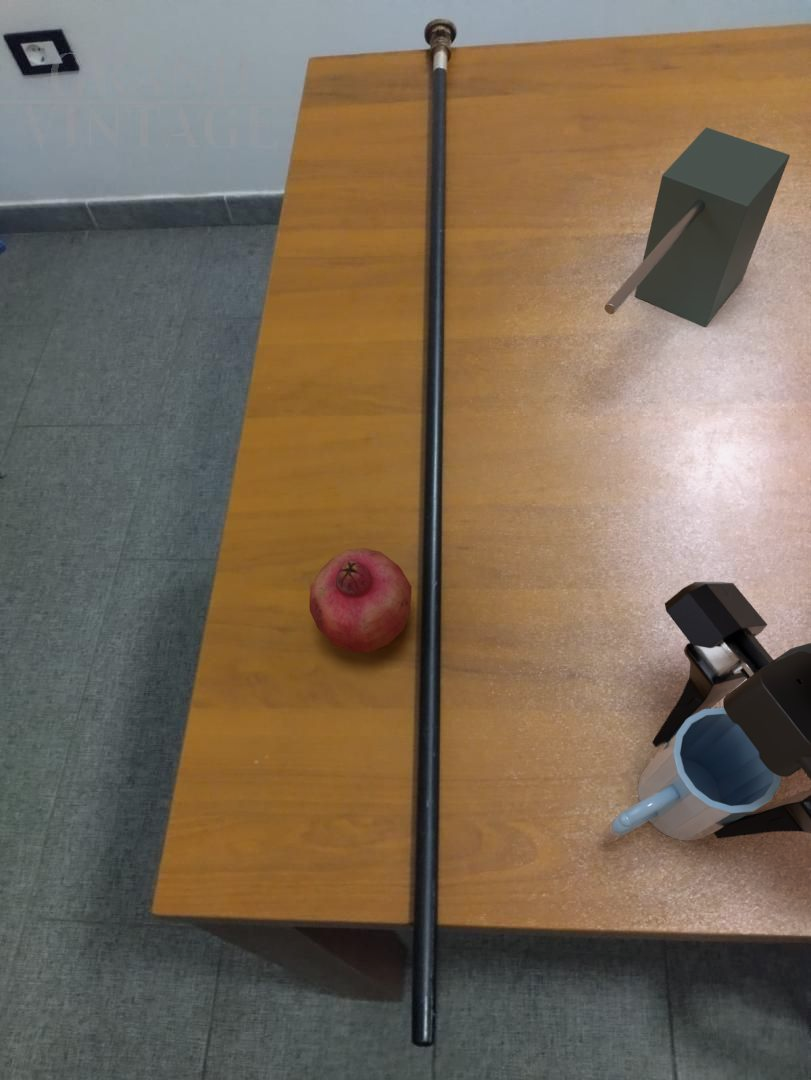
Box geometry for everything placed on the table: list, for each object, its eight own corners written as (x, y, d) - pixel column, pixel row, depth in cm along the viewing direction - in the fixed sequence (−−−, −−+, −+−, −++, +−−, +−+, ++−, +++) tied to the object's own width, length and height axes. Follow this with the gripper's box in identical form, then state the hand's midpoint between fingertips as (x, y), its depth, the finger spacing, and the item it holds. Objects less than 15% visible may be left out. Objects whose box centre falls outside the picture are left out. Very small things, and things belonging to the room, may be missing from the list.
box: (555, 389, 73) (569, 276, 61) (672, 251, 81) (706, 126, 68) (627, 426, 70) (657, 315, 58) (742, 280, 78) (790, 154, 65)
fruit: (435, 632, 62) (427, 579, 53) (352, 685, 60) (330, 640, 52) (383, 561, 66) (368, 501, 57) (304, 610, 64) (276, 556, 55)
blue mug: (689, 739, 56) (736, 690, 45) (742, 814, 53) (805, 780, 43) (575, 804, 54) (596, 768, 44) (623, 884, 52) (658, 867, 41)
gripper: (735, 509, 39) (537, 676, 47) (1040, 856, 30) (732, 988, 38) (802, 521, 47) (624, 662, 55) (1058, 797, 38) (801, 916, 46)
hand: (685, 787), depth 48 cm, fingers closed on blue mug, 6 cm apart
